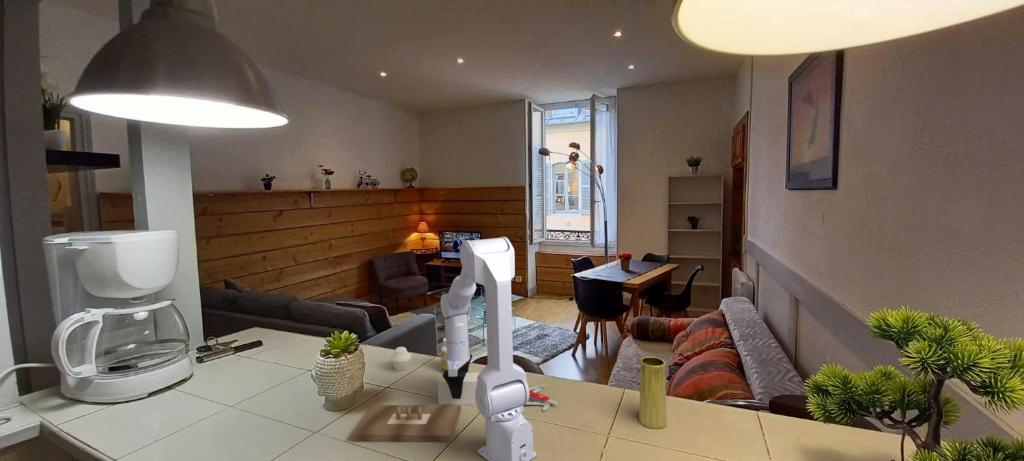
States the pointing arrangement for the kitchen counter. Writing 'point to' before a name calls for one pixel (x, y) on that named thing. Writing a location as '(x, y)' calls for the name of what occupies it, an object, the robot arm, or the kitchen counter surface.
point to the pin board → (408, 423)
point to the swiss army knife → (539, 398)
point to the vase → (652, 393)
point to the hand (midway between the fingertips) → (459, 390)
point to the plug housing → (467, 390)
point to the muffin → (401, 359)
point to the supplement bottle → (443, 352)
